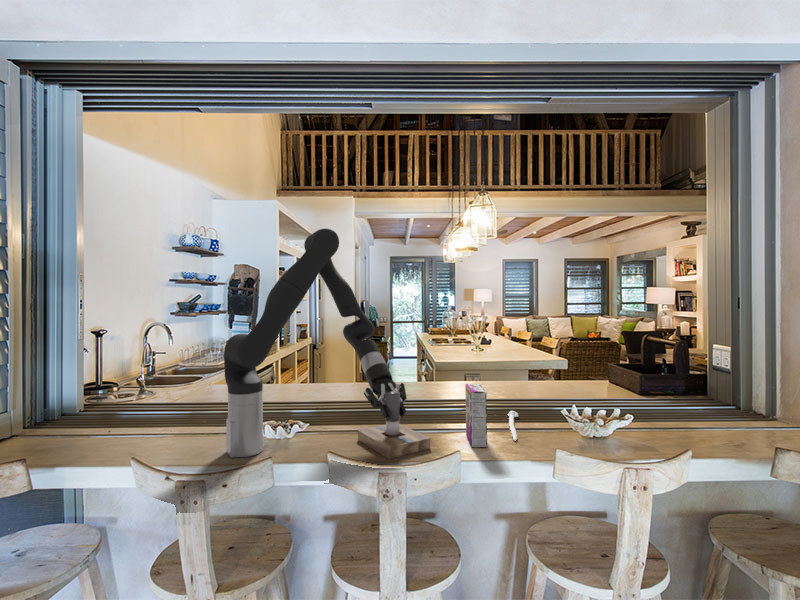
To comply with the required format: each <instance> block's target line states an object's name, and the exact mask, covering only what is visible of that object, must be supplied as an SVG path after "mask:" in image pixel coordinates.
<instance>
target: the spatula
mask: <svg viewBox="0 0 800 600" xmlns="http://www.w3.org/2000/svg"><path fill="white" fill-rule="evenodd" d="M507 415H508V416H509V418H508V427H509V426H510V428H509V431H510V430H511V431H510V434H511V433H512V434H511V437H512V436H513V439H512V441H513V440H515V441H516V440H517V439H518V435H517V429H516V428H515V419H514V417H518V418H519V417H520V416H519V413H518V412H516V411H515V410H510V411H509V412H508V413H507ZM517 441H518V440H517ZM517 441H516V442H517Z"/></svg>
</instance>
